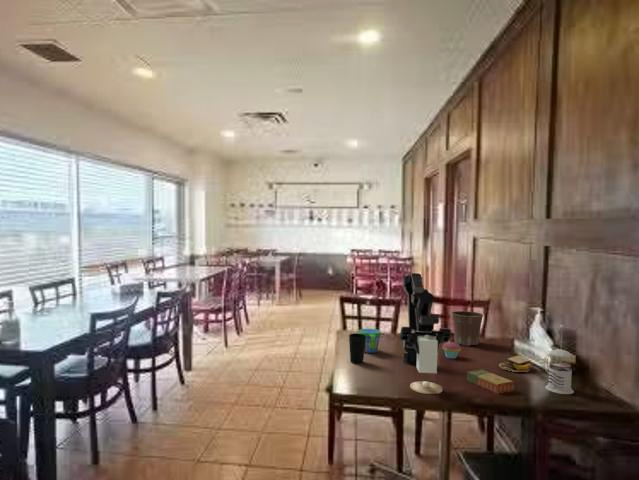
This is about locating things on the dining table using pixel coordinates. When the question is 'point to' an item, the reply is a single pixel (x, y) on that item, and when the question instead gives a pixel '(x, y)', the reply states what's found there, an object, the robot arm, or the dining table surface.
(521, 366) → the toy sandwich meal
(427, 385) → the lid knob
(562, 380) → the french press
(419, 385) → the cork mat
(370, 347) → the snack cup
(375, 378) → the dining table surface
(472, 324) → the plant pot
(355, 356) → the cup
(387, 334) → the dining table surface
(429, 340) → the cover
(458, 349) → the cupcake
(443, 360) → the dining table surface
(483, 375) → the carton
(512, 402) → the dining table surface
